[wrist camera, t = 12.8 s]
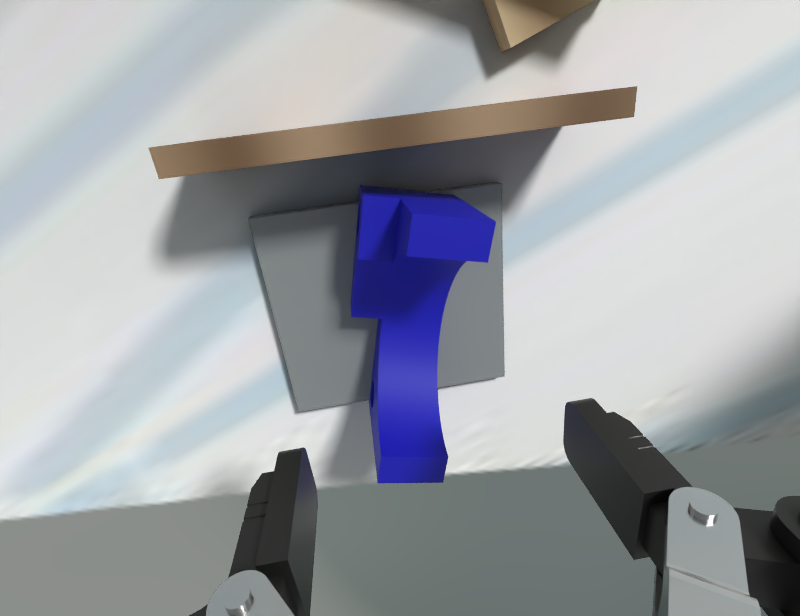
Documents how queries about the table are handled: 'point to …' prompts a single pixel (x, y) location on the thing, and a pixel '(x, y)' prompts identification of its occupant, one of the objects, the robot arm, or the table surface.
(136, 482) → the table surface
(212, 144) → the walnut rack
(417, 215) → the blue curved piece
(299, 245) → the rubber mat
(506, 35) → the lower offcut
